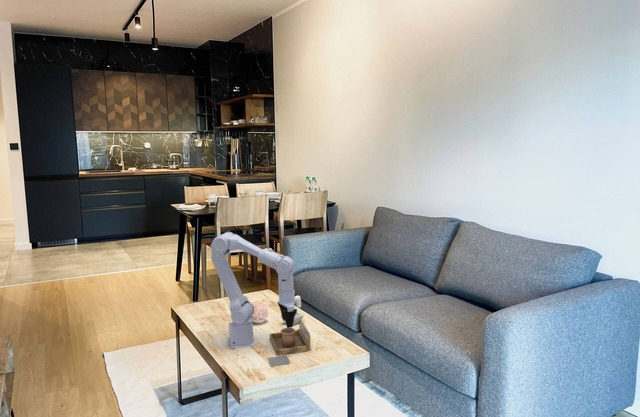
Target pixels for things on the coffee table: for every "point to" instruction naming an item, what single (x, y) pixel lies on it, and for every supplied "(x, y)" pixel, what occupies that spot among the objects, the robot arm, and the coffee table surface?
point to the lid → (304, 332)
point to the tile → (278, 360)
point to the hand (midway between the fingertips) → (287, 323)
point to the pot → (288, 337)
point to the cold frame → (297, 348)
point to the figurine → (297, 316)
